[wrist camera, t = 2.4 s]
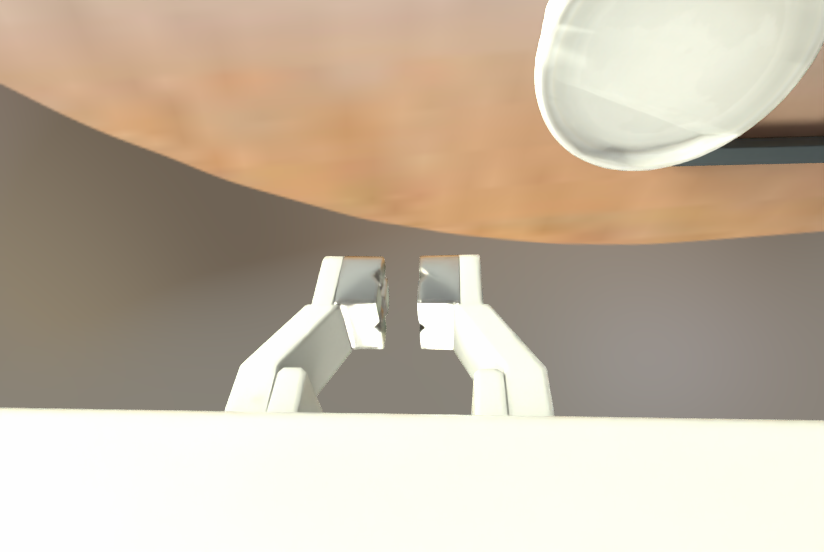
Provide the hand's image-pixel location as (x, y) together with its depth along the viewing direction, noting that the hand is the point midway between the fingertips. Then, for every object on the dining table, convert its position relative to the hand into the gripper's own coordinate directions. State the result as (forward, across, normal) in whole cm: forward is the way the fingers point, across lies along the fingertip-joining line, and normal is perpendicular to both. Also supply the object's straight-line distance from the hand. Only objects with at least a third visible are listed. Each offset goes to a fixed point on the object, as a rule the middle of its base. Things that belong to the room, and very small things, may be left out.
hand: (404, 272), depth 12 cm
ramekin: (+17, -10, 0) cm, 20 cm away
